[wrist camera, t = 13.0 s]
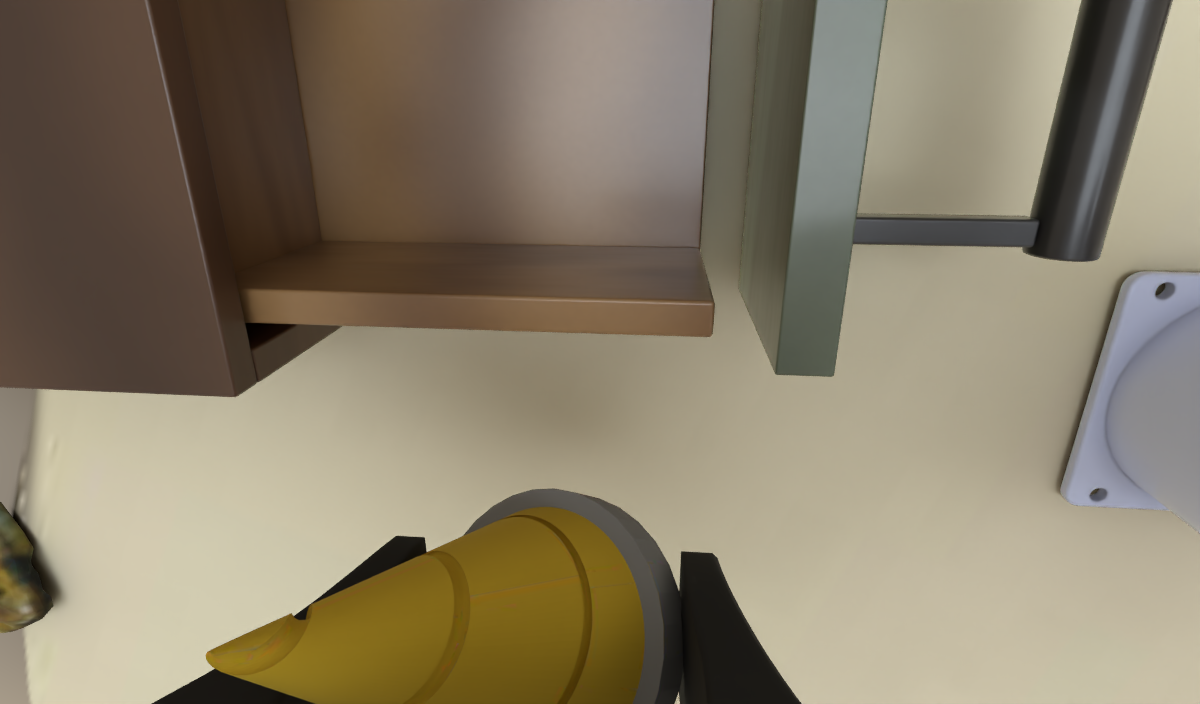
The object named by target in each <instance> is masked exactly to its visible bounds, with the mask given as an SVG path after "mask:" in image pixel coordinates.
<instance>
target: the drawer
mask: <svg viewBox="0 0 1200 704" xmlns="http://www.w3.org/2000/svg"><path fill="white" fill-rule="evenodd" d="M887 1H888V0H762V6H761V19H760V31H759V43H758V56H757V68H756V80H755V93H754V105H753V117H752V130H751V142H750V154H749V167H748V179H747V191H746V204H745V216H744V228H743V241H742V253H741V266H740V278H739V291H740V293H741V295H742V298H743V300H744V302H745V305H746V307H747V309H748V312H749V314H750V316H751V319H752V321H753V323H754V326H755V328H756V330H757V333H758V335H759V337H760V340H761V342H762V344H763V347H764V349H765V351H766V353H767V356H768V358H769V360H770V363H771V365H772V367H773V370H774V372H775V374H777V375H800V376H828V377H832V376H834V371H835V364H836V357H837V350H838V343H839V336H840V329H841V322H842V315H843V309H844V302H845V295H846V288H847V281H848V274H849V267H850V260H851V253H852V246H853V244H868V245H923V246H977V247H1022V250H1023V252H1024V253H1026V254H1028V255H1031V256H1035V257H1039V258H1044V259H1051V260H1059V261H1072V262H1087V261H1094V260H1097V259H1099V257H1100V255H1101V251H1102V248H1103V244H1104V241H1105V237H1106V234H1107V230H1108V227H1109V223H1110V220H1111V216H1112V213H1113V209H1114V206H1115V202H1116V199H1117V195H1118V192H1119V188H1120V185H1121V181H1122V178H1123V174H1124V170H1125V167H1126V163H1127V160H1128V156H1129V153H1130V149H1131V146H1132V142H1133V139H1134V135H1135V132H1136V128H1137V125H1138V121H1139V118H1140V114H1141V111H1142V107H1143V104H1144V100H1145V97H1146V93H1147V90H1148V86H1149V83H1150V79H1151V76H1152V72H1153V68H1154V65H1155V61H1156V58H1157V54H1158V51H1159V47H1160V44H1161V40H1162V37H1163V33H1164V30H1165V26H1166V23H1167V19H1168V16H1169V12H1170V9H1171V5H1172V2H1173V0H1081V5H1080V9H1079V13H1078V17H1077V21H1076V26H1075V30H1074V34H1073V38H1072V42H1071V46H1070V51H1069V55H1068V59H1067V63H1066V67H1065V72H1064V76H1063V80H1062V84H1061V88H1060V92H1059V97H1058V101H1057V105H1056V109H1055V113H1054V118H1053V122H1052V126H1051V130H1050V134H1049V138H1048V143H1047V147H1046V151H1045V155H1044V159H1043V164H1042V168H1041V172H1040V176H1039V180H1038V184H1037V189H1036V193H1035V197H1034V201H1033V205H1032V210H1031V214H1030V217H1027V216H996V215H926V214H857V211H858V204H859V197H860V190H861V183H862V176H863V169H864V162H865V155H866V148H867V141H868V134H869V127H870V120H871V113H872V106H873V99H874V92H875V85H876V78H877V71H878V64H879V57H880V50H881V43H882V36H883V29H884V22H885V15H886V8H887ZM178 4H179V8H180V13H181V18H182V23H183V28H184V32H185V37H186V42H187V47H188V52H189V56H190V61H191V66H192V71H193V76H194V81H195V85H196V90H197V95H198V100H199V105H200V109H201V114H202V119H203V124H204V129H205V133H206V138H207V143H208V148H209V153H210V157H211V162H212V167H213V172H214V177H215V182H216V186H217V191H218V196H219V201H220V206H221V210H222V215H223V220H224V225H225V230H226V234H227V239H228V244H229V249H230V254H231V258H232V263H233V268H234V273H235V278H236V282H237V287H238V292H239V297H240V302H241V307H242V311H243V316H244V321H245V323H274V324H306V325H338V326H370V327H402V328H434V329H467V330H499V331H531V332H563V333H595V334H627V335H659V336H691V337H710V336H712V334H713V324H714V310H715V303H714V299H713V296H712V292H711V288H710V285H709V281H708V277H707V274H706V270H705V266H704V263H703V259H702V255H701V252H700V244H701V226H702V209H703V191H704V174H705V157H706V139H707V122H708V104H709V87H710V70H711V52H712V35H713V18H714V0H178Z"/></svg>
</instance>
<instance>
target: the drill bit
mask: <svg viewBox="0 0 1200 704" xmlns="http://www.w3.org/2000/svg"><path fill="white" fill-rule="evenodd" d="M206 659H207V661H208V663H209V664H210V665H211V666H212V667H214V668H215V669H217V670H219V671H221V672H223V673H226V674H229V675H232V676H235V677H237V678H240V679H243V680H246V681H249V682H252V683H255V684H258V685H261V686H264V687H267V688H270V689H273V690H276V691H279V692H282V693H285V694H288V695H291V696H294V697H297V698H300V699H303V700H306V701H309V702H312V703H315V704H674V703H675V700H676V697H677V695H678V692H679V689H680V686H681V679H682V673H683V640H682V618H681V599H680V593H679V590H678V588H677V585H676V582H675V579H674V577H673V574H672V571H671V568H670V566H669V564H668V562H667V560H666V559H665V557H664V555H663V554H662V552H661V550H660V548H659V547H658V545H657V543H656V542H655V540H654V539H653V538H652V537H651V536H650V535H649V533H648V532H647V531H646V530H645V529H644V528H643V527H642V525H641V524H640V523H639V522H638V521H636V520H635V519H634V518H632V517H631V516H630V515H628V514H627V513H626V512H625V511H623V510H622V509H621V508H619V507H617V506H615V505H612V504H610V503H608V502H606V501H604V500H601V499H599V498H595V497H591V496H587V495H583V494H579V493H574V492H569V491H564V490H559V489H535V490H530V491H526V492H523V493H520V494H516V495H513V496H511V497H509V498H507V499H505V500H503V501H502V502H500V503H498V504H496V505H494V506H493V507H492V508H490V509H489V510H488V511H487V512H486V513H484V514H483V515H482V516H481V517H480V518H478V519H477V520H476V521H475V522H474V524H473V525H472V526H471V527H470V528H469V530H468V531H467V532H466V533H465V534H464V536H462V537H460V538H458V539H456V540H453V541H451V542H449V543H447V544H444V545H442V546H440V547H438V548H435V549H433V550H431V551H429V552H427V553H424V554H422V555H421V556H418V557H415V558H413V559H411V560H409V561H407V562H404V563H402V564H400V565H398V566H395V567H393V568H391V569H389V570H387V571H384V572H382V573H380V574H378V575H375V576H373V577H371V578H369V579H367V580H364V581H362V582H360V583H358V584H355V585H353V586H351V587H349V588H347V589H344V590H342V591H340V592H338V593H335V594H333V595H331V596H329V597H327V598H324V599H322V600H320V601H318V602H315V603H313V604H311V605H310V606H309V608H308V611H307V616H306V620H298V619H296V618H294V617H293V615H292V613H291V614H289V615H287V616H284V617H282V618H280V619H278V620H275V621H273V622H271V623H269V624H267V625H264V626H262V627H260V628H258V629H255V630H253V631H251V632H249V633H247V634H244V635H242V636H240V637H238V638H236V639H234V640H231V641H229V642H227V643H225V644H223V645H221V646H218V647H216V648H214V649H212V650H210V651H208V652H207V654H206Z"/></svg>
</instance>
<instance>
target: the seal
mask: <svg viewBox="0 0 1200 704" xmlns="http://www.w3.org/2000/svg"><path fill="white" fill-rule="evenodd" d="M33 549H34V548H33V546H32V545H31V543H30V542H29V540H28V538H27V537H26V535H25V533H24V532H23V531H22V529H21V528H20V527H19V525H18V524H17V523H16V521H15V520H14V519H13V517H12V516H11V515H10V513H9V512H8V511H7V509H6V508H5V507H4V505H3V504H2V503H1V502H0V633H6V632H12V631H15V630H18V629H21V628H24V627H26V626H28V625H30V624H32V623H34V622H36V621H38V620H40V619H42V618H43V617H44V616H45V615H46V614H47V613H48V611H49V610H50V609H51V608H52V607H53V603H52V599H51V597H50V596H49V595H48V594H47V593H46V592H44V591H43V588H42V585H41V581H40V577H39V574H38V572H37V571H36V570H35V569H34V568H33V566H32V563H31V557H32V553H33Z"/></svg>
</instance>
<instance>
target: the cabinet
mask: <svg viewBox="0 0 1200 704" xmlns="http://www.w3.org/2000/svg"><path fill="white" fill-rule="evenodd" d="M340 327H342V326H338V325H306V324H274V323H245V321H244V316H243V311H242V307H241V302H240V297H239V292H238V287H237V282H236V278H235V273H234V268H233V263H232V258H231V254H230V249H229V244H228V239H227V234H226V230H225V225H224V220H223V215H222V210H221V206H220V201H219V196H218V191H217V186H216V182H215V177H214V172H213V167H212V162H211V157H210V153H209V148H208V143H207V138H206V133H205V129H204V124H203V119H202V114H201V109H200V105H199V100H198V95H197V90H196V85H195V81H194V76H193V71H192V66H191V61H190V56H189V52H188V47H187V42H186V37H185V32H184V28H183V23H182V18H181V13H180V8H179V4H178V0H0V387H7V388H31V389H54V390H78V391H102V392H126V393H150V394H174V395H198V396H222V397H237V396H239V395H240V394H242V393H243V392H245V391H246V390H248V389H249V388H251V387H252V386H254V385H255V384H256V383H257V382H260V381H261V380H263V379H264V378H266V377H267V376H269V375H270V374H272V373H273V372H275V371H276V370H278V369H279V368H281V367H282V366H284V365H285V364H287V363H288V362H290V361H291V360H293V359H294V358H296V357H297V356H299V355H300V354H302V353H303V352H305V351H306V350H308V349H309V348H311V347H312V346H313V345H315V344H316V343H318V342H319V341H321V340H322V339H324V338H325V337H327V336H328V335H330V334H331V333H333V332H334V331H336V330H337V329H339V328H340Z"/></svg>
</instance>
